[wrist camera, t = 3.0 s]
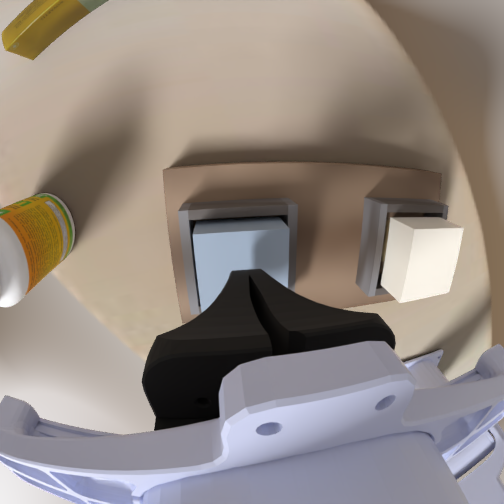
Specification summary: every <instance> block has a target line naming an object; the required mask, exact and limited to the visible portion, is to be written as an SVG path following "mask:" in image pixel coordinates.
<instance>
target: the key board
mask: <svg viewBox="0 0 504 504" xmlns="http://www.w3.org/2000/svg"><path fill="white" fill-rule="evenodd" d="M441 175H442V174H440V173H436V172H431V171H426V170H419V169H410V168H401V167H391V166H380V165H367V164H352V163H330V162H242V163H221V164H205V165H192V166H180V167H170V168H166V169H164V170H163V181H164V193H165V204H166V214H167V223H168V232H169V240H170V248H171V256H172V263H173V270H174V276H175V283H176V289H177V295H178V301H179V307H180V312H181V318H182V323H188V322H189V321H191V320H193V319H194V318H196V317H197V316H198V315H200V314H201V313H202V311H201V304H200V296H199V288H198V280H197V272H196V263H195V254H194V244H193V231H194V228H195V224H196V221H204V220H219V219H236V218H254V217H275V216H279V217H280V218H281V220H282V221H283V222H284V223H285V224H286V225H287V226H288V228H289V270H288V289H290V290H292V291H294V292H295V293H297V294H299V295H301V296H303V297H305V298H308V299H310V300H312V301H315V302H318V303H321V304H324V305H327V306H330V307H334V308H338V309H343V308H349V307H356V306H362V305H368V304H374V303H380V302H386V301H392V300H396V299H395V298H394V297H393V296H392V295H391V294H390V293H389V292H388V291H387V290H386V289H385V288H384V287H383V286H382V285H380V284H381V279H382V274H383V268H384V262H385V255H386V248H387V241H388V234H389V225H390V217H440V218H443V219H445V220H447V213H448V206H447V205H445V204H442V203H439V199H440V188H441Z"/></svg>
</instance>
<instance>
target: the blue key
mask: <svg viewBox="0 0 504 504" xmlns="http://www.w3.org/2000/svg"><path fill="white" fill-rule="evenodd" d="M193 244H194V254H195V263H196V272H197V280H198V288H199V296H200V304H201V311H202V312H203V311H205V310H206V309H207V308H208V307H209V306H210V305H211V304H212V303H213V302H214V300H215V299H216V298H217V296H218V295H219V294H220V292H221V291H222V289H223V288H224V286H225V284H226V282H227V280H228V278H229V275H230V273H231V272H232V271H234V270H248V269H262V270H263V271H265V272H266V273H267V274H268V275H270V276H271V277H272V278H274V279H275V280H276V281H278V282H279V283H281V284H282V285H284V286H285V287H287V288H288V270H289V228H288V226H287V225H286V224H285V223H284V222H283V221H282V220H281V218H280V217H279V216H275V217H254V218H236V219H219V220H204V221H196V224H195V228H194V231H193Z"/></svg>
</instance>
